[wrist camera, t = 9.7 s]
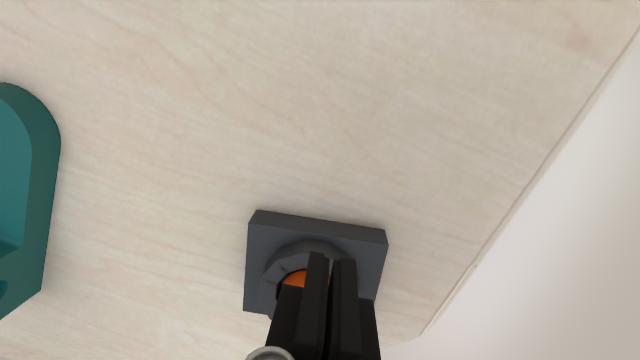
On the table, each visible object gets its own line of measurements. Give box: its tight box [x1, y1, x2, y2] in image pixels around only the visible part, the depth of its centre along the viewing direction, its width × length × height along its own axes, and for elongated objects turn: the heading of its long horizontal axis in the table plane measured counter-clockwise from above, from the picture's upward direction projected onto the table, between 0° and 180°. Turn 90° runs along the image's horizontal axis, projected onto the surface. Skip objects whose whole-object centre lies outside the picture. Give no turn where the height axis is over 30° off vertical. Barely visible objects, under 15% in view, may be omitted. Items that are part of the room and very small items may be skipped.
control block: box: [243, 210, 389, 320], centre depth 23 cm, size 10×8×4 cm
